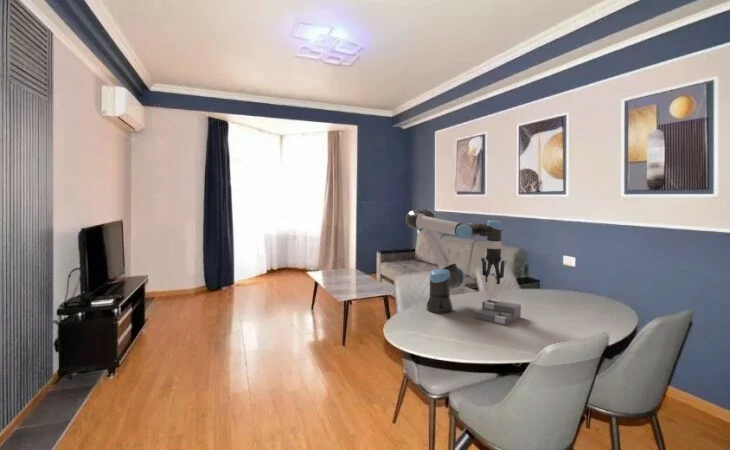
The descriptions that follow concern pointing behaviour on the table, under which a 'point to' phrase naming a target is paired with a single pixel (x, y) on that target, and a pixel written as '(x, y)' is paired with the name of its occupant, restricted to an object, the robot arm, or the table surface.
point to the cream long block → (491, 285)
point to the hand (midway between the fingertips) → (492, 288)
